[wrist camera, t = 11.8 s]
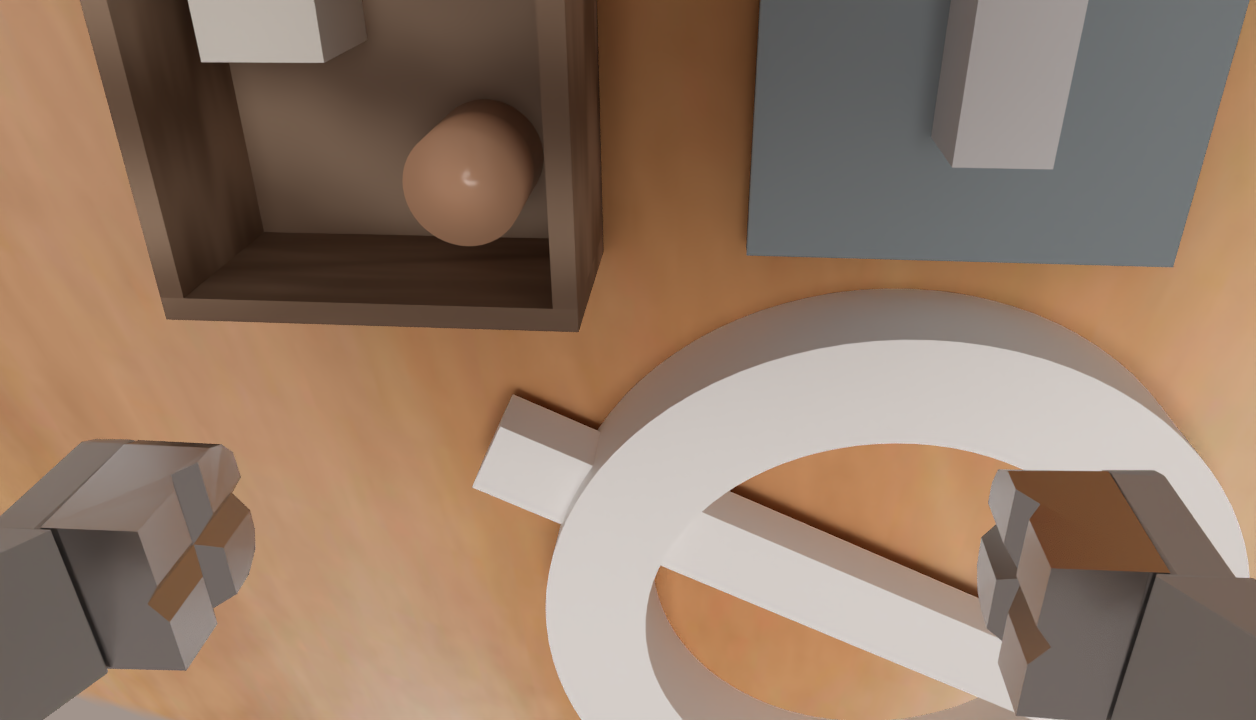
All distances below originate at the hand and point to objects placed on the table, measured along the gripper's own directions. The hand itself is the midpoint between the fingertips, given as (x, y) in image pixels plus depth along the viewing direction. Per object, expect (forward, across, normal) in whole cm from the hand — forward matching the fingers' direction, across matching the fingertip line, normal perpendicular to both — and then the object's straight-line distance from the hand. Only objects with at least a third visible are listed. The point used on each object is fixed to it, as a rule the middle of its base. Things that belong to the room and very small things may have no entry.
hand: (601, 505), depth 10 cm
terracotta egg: (+25, +7, +4) cm, 26 cm away
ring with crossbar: (+26, -8, +23) cm, 36 cm away
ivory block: (+25, +13, -2) cm, 29 cm away
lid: (+26, -10, 0) cm, 28 cm away
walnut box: (+26, +10, 0) cm, 28 cm away
